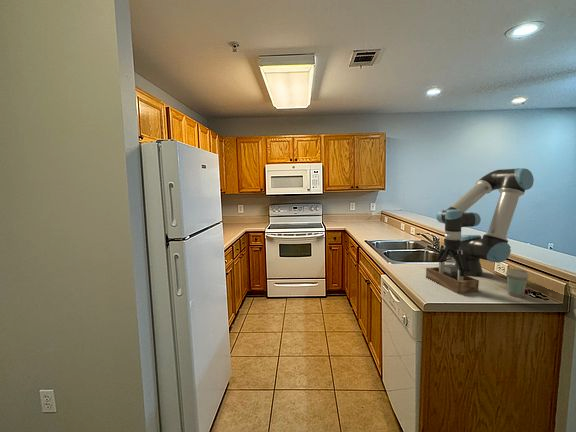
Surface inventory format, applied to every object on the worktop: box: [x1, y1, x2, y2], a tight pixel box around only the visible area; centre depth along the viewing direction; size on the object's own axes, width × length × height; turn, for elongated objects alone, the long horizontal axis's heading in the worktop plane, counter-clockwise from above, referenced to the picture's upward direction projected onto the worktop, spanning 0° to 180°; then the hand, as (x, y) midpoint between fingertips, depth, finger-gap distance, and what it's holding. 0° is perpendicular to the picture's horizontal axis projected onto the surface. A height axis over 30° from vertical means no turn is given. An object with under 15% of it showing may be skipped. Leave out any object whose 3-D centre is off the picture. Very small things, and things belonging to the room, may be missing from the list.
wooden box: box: [425, 266, 480, 295], centre depth 151 cm, size 11×24×6 cm, turn 10°
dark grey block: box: [443, 263, 459, 280], centre depth 151 cm, size 5×5×10 cm
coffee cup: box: [505, 268, 530, 298], centre depth 135 cm, size 8×8×12 cm
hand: (450, 277), depth 151 cm, fingers open, 13 cm apart
